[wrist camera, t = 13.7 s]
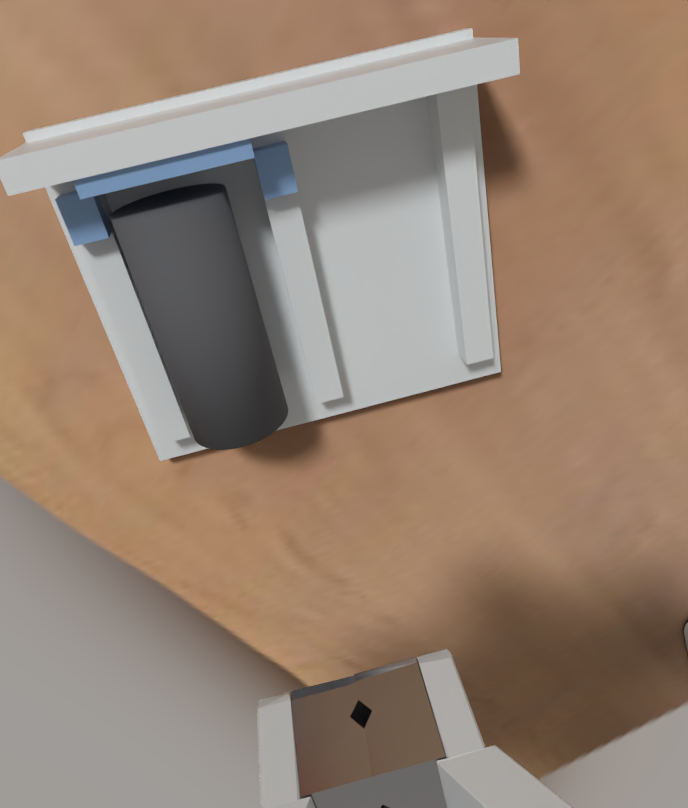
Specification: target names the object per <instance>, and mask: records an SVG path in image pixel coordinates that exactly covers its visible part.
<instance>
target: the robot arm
mask: <svg viewBox="0 0 688 808" xmlns="http://www.w3.org/2000/svg"><path fill="white" fill-rule="evenodd" d="M684 635H685V641H686V646H687V651H688V622H687V624H686V625H685V628H684ZM257 723H258V747H259V748H258V749H259V774H260V796H261V797H260V799H261V808H573V807H572V806H570V805H569V804H568V803H567V802H566V801H564V800H563V799H562V798H561V797H559V796H558V795H557V794H556V793H554V792H553V791H552V790H551V789H549V788H548V787H547V786H546V785H544V784H543V783H542V782H541V781H540V780H538V779H537V778H536V777H535V776H533V775H532V774H531V773H530V772H528V771H527V770H526V769H525V768H523V767H522V766H521V765H520V764H519V763H517V762H516V761H515V760H514V759H512V758H511V757H510V756H509V755H507V754H506V753H505V752H504V751H502V750H501V749H500V748H499V747H497V746H496V745H493V746H488V747H485V744H484V742H483V739H482V736H481V733H480V731H479V728H478V725H477V722H476V720H475V717H474V714H473V711H472V709H471V706H470V703H469V700H468V698H467V695H466V692H465V690H464V687H463V684H462V681H461V679H460V676H459V673H458V670H457V668H456V665H455V662H454V659H453V657H452V654H451V653H450V652H449V650H448V649H444V650H440V651H437V652H433V653H430V654H426V655H423V656H419V657H417V658H415V657H412V658H409V659H405V660H402V661H398V662H395V663H391V664H388V665H384V666H381V667H378V668H374V669H371V670H367V671H364V672H360V673H357V674H354V676H351V677H347V678H343V679H339V680H335V681H331V682H327V683H323V684H318V685H314V686H310V687H306V688H302V689H298V690H294V691H290V692H286V693H282V694H278V695H275V696H271V697H267V698H263V699H260V700H259V703H258V708H257Z"/></svg>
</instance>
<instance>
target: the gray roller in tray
mask: <svg viewBox="0 0 688 808" xmlns="http://www.w3.org/2000/svg"><path fill="white" fill-rule="evenodd" d="M110 219H111V222H112V224H113V227H114V230H115V232H116V235H117V238H118V240H119V243H120V246H121V248H122V251H123V253H124V256H125V259H126V261H127V264H128V267H129V269H130V272H131V274H132V277H133V280H134V282H135V285H136V288H137V290H138V293H139V295H140V298H141V301H142V303H143V306H144V309H145V311H146V314H147V317H148V319H149V322H150V324H151V327H152V330H153V332H154V335H155V338H156V340H157V343H158V345H159V348H160V351H161V353H162V356H163V359H164V361H165V364H166V366H167V369H168V372H169V374H170V377H171V380H172V382H173V385H174V388H175V390H176V393H177V395H178V398H179V401H180V403H181V406H182V409H183V411H184V414H185V416H186V419H187V422H188V424H189V427H190V430H191V432H192V435H193V437H194V440H195V441H196V442H197V443H198V444H199V445H201V446H203V447H205V448H209V449H216V450H225V449H234V448H239V447H243V446H246V445H250V444H252V443H255V442H257V441H259V440H262V439H263V438H265V437H267V436H269V435H270V434H272V433H273V432H274V431H276V430H277V429H278V428H279V427H280V426H281V425H282V424H283V423H284V421H285V420H286V418H287V415H288V406H287V402H286V399H285V395H284V392H283V388H282V385H281V381H280V378H279V374H278V371H277V367H276V364H275V360H274V357H273V353H272V349H271V346H270V342H269V339H268V335H267V332H266V328H265V325H264V321H263V318H262V314H261V311H260V307H259V303H258V300H257V296H256V293H255V289H254V286H253V282H252V279H251V275H250V272H249V268H248V265H247V261H246V258H245V254H244V250H243V247H242V243H241V240H240V236H239V233H238V229H237V226H236V222H235V219H234V215H233V212H232V208H231V205H230V201H229V197H228V194H227V190H226V187H225V186H224V185H222V184H216V183H209V184H198V185H191V186H186V187H181V188H176V189H172V190H168V191H164V192H160V193H157V194H154V195H150V196H147V197H144V198H141V199H139V200H136V201H134V202H131V203H129V204H127V205H125V206H122V207H121V208H119V209H117V210H116V211H114V212H113V213H112V214H111V215H110Z"/></svg>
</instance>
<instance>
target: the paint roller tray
mask: <svg viewBox="0 0 688 808" xmlns="http://www.w3.org/2000/svg"><path fill="white" fill-rule="evenodd" d="M518 74H520V67H519V48H518V38H473V30H472V28H465V29H461V30H456V31H452V32H448V33H443V34H439V35H435V36H431V37H426V38H422V39H418V40H413V41H409V42H405V43H401V44H396V45H392V46H388V47H383V48H379V49H375V50H371V51H366V52H362V53H358V54H353V55H349V56H345V57H341V58H336V59H332V60H328V61H324V62H319V63H315V64H311V65H306V66H302V67H298V68H294V69H289V70H285V71H281V72H276V73H272V74H268V75H264V76H259V77H255V78H251V79H246V80H242V81H238V82H234V83H229V84H225V85H221V86H216V87H212V88H208V89H204V90H199V91H195V92H191V93H186V94H182V95H178V96H174V97H169V98H165V99H161V100H157V101H152V102H148V103H144V104H139V105H135V106H131V107H127V108H122V109H118V110H114V111H109V112H105V113H101V114H97V115H92V116H88V117H84V118H79V119H75V120H71V121H67V122H62V123H58V124H54V125H49V126H45V127H41V128H37V129H32V130H28V131H26V132H24V133H23V136H24V138H25V140H26V143H25V144H23V145H21V146H19V147H18V148H16V149H14V150H12V151H10V152H9V153H7V154H5V155H3V156H2V157H0V179H1V181H2V183H3V186H4V188H5V190H6V192H7V195H8V196H10V195H15V194H19V193H23V192H27V191H31V190H35V189H40V188H44V187H45V188H46V190H47V193H48V195H49V198H50V200H51V202H52V205H53V207H54V210H55V212H56V214H57V217H58V219H59V221H60V224H61V226H62V229H63V231H64V233H65V236H66V238H67V240H68V243H69V245H70V248H71V250H72V252H73V255H74V257H75V260H76V262H77V264H78V267H79V269H80V271H81V274H82V276H83V279H84V281H85V283H86V286H87V288H88V290H89V293H90V295H91V298H92V300H93V302H94V305H95V307H96V310H97V312H98V314H99V317H100V319H101V321H102V324H103V326H104V329H105V331H106V333H107V336H108V338H109V340H110V343H111V345H112V348H113V350H114V352H115V355H116V357H117V360H118V362H119V364H120V367H121V369H122V371H123V374H124V376H125V379H126V381H127V383H128V386H129V388H130V390H131V393H132V395H133V398H134V400H135V402H136V405H137V407H138V410H139V412H140V414H141V417H142V419H143V421H144V424H145V426H146V429H147V431H148V433H149V436H150V438H151V440H152V443H153V445H154V448H155V450H156V452H157V455H158V457H159V460H160V461H162V460H166V459H170V458H174V457H177V456H181V455H185V454H189V453H193V452H197V451H200V450H204V449H208V448H205V447H203V446H201V445H199V444H198V443H197V442H196V441H195V440H194V437H193V435H192V432H191V430H190V427H189V424H188V422H187V419H186V416H185V414H184V411H183V409H182V406H181V403H180V401H179V398H178V395H177V393H176V390H175V388H174V385H173V382H172V380H171V377H170V374H169V372H168V369H167V366H166V364H165V361H164V359H163V356H162V353H161V351H160V348H159V345H158V343H157V340H156V338H155V335H154V332H153V330H152V327H151V324H150V322H149V319H148V317H147V314H146V311H145V309H144V306H143V303H142V301H141V298H140V295H139V293H138V290H137V288H136V285H135V282H134V280H133V277H132V274H131V272H130V269H129V267H128V264H127V261H126V259H125V256H124V253H123V251H122V248H121V246H120V243H119V240H118V238H117V235H116V232H115V230H114V227H113V224H112V222H111V219H110V215H111V214H112V213H113V212H114V211H116V210H117V209H119V208H121V207H122V206H125V205H127V204H129V203H131V202H134V201H136V200H139V199H141V198H144V197H147V196H150V195H154V194H157V193H160V192H164V191H168V190H172V189H176V188H181V187H186V186H191V185H198V184H209V183H216V184H222V185H224V186H225V187H226V190H227V194H228V197H229V201H230V205H231V208H232V212H233V215H234V219H235V222H236V226H237V229H238V233H239V236H240V240H241V243H242V247H243V250H244V254H245V258H246V261H247V265H248V268H249V272H250V275H251V279H252V282H253V286H254V289H255V293H256V296H257V300H258V303H259V307H260V311H261V314H262V318H263V321H264V325H265V328H266V332H267V335H268V339H269V342H270V346H271V349H272V353H273V357H274V360H275V364H276V367H277V371H278V374H279V378H280V381H281V385H282V388H283V392H284V395H285V399H286V402H287V406H288V415H287V418H286V420H285V421H284V423H283V424H282V425H281V426H280V427H279V428H278V429H277V430H281V429H284V428H288V427H292V426H296V425H300V424H303V423H307V422H311V421H315V420H319V419H323V418H326V417H330V416H334V415H338V414H342V413H345V412H349V411H353V410H357V409H361V408H365V407H368V406H372V405H376V404H380V403H384V402H387V401H391V400H395V399H399V398H403V397H407V396H410V395H414V394H418V393H422V392H426V391H429V390H433V389H437V388H441V387H445V386H449V385H452V384H456V383H460V382H464V381H468V380H471V379H475V378H479V377H483V376H487V375H491V374H494V373H498V372H501V366H500V354H499V342H498V330H497V318H496V306H495V294H494V282H493V270H492V258H491V246H490V234H489V222H488V210H487V198H486V186H485V174H484V162H483V150H482V138H481V126H480V114H479V102H478V90H477V84H480V83H485V82H489V81H493V80H497V79H501V78H506V77H510V76H514V75H518ZM277 430H276V431H277Z"/></svg>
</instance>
